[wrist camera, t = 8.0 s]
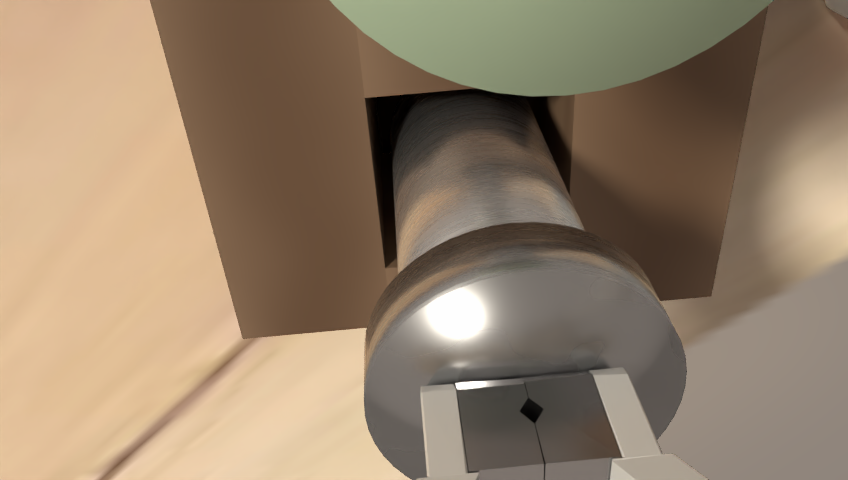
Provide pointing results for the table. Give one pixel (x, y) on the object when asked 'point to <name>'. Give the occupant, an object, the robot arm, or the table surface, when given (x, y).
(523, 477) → the robot arm
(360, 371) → the table surface
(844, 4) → the skincare box
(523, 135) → the plug
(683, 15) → the plug mid
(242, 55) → the block
